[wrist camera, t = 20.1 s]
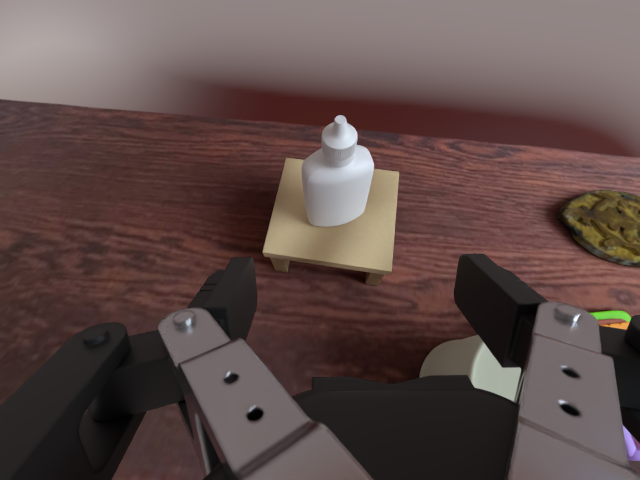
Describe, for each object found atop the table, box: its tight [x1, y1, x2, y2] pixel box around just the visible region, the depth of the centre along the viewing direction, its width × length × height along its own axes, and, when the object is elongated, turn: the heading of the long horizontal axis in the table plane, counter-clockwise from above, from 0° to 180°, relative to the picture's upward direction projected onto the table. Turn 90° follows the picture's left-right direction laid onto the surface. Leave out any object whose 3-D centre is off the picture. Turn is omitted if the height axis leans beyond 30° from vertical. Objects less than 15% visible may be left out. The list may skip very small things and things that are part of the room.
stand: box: [263, 158, 399, 286], centre depth 34 cm, size 12×11×6 cm
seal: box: [558, 190, 640, 267], centre depth 35 cm, size 9×5×15 cm
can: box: [419, 335, 521, 402], centre depth 25 cm, size 9×9×12 cm
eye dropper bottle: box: [301, 115, 374, 227], centre depth 26 cm, size 4×6×12 cm
